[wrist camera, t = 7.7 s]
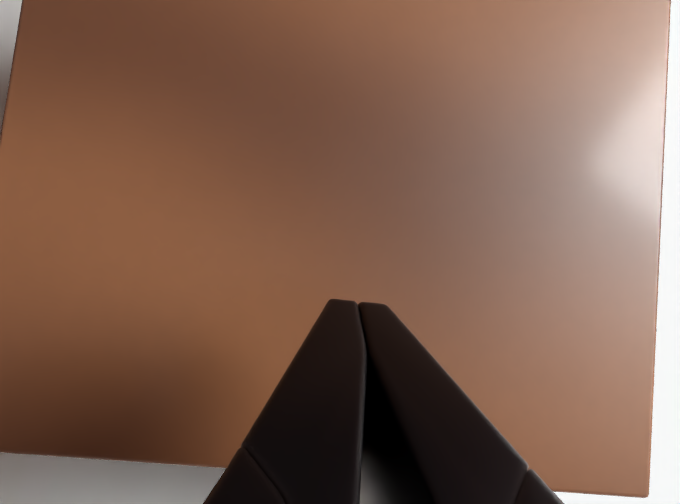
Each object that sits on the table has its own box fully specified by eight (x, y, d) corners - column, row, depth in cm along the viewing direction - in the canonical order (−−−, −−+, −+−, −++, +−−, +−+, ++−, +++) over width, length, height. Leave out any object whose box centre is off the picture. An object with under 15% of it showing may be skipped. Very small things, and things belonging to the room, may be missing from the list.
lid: (76, -239, 12) (64, -272, 11) (657, -127, 13) (679, -152, 12) (-32, 440, 11) (-54, 450, 10) (628, 487, 12) (649, 499, 11)
